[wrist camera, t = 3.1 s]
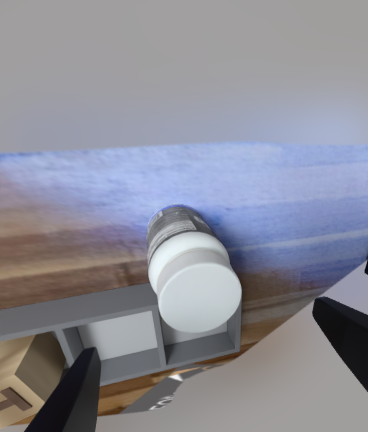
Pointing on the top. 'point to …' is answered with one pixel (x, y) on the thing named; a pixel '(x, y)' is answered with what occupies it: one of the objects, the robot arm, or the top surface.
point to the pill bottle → (190, 271)
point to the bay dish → (120, 332)
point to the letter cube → (28, 375)
